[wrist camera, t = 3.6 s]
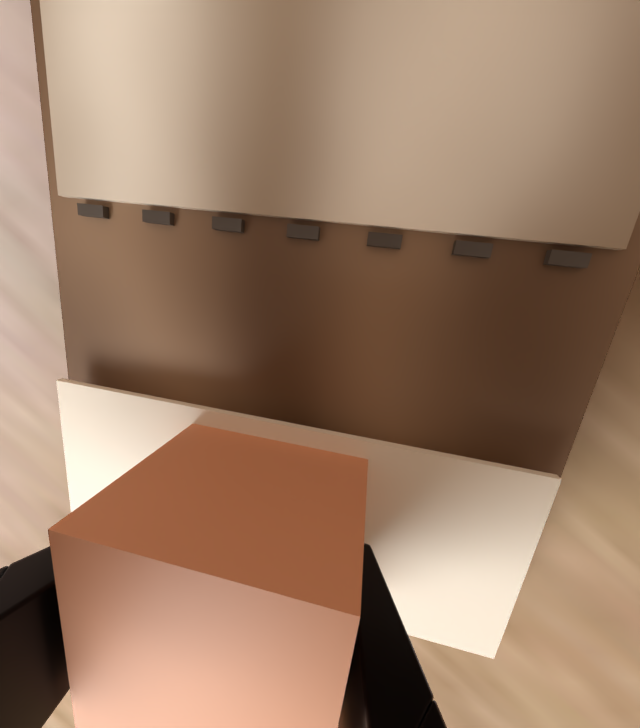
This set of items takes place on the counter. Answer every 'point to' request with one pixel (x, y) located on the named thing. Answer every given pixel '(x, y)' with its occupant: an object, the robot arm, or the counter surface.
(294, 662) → the butter dish
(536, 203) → the board
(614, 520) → the counter surface
